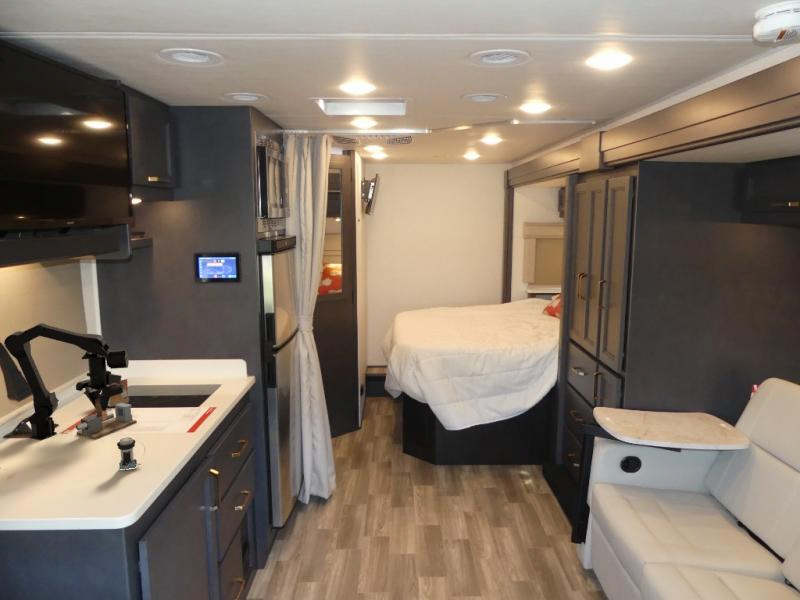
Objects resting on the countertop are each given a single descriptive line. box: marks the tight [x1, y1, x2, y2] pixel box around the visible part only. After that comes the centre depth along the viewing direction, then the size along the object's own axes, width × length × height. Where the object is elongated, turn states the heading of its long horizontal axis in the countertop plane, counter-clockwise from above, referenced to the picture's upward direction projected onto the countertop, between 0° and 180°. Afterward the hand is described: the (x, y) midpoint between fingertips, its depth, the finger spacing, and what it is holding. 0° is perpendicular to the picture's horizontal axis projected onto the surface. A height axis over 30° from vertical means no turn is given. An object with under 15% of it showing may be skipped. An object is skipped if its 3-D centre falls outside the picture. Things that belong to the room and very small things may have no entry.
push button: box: [116, 436, 142, 471], centre depth 187 cm, size 7×5×10 cm
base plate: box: [76, 416, 138, 440], centre depth 221 cm, size 18×10×1 cm, turn 154°
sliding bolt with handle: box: [75, 398, 115, 432], centre depth 216 cm, size 14×3×9 cm, turn 154°
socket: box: [114, 403, 134, 422], centre depth 227 cm, size 3×6×6 cm, turn 65°
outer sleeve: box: [80, 413, 103, 435], centre depth 215 cm, size 6×4×6 cm
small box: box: [107, 376, 129, 408], centre depth 248 cm, size 8×6×10 cm
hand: (101, 410), depth 218 cm, fingers closed on sliding bolt with handle, 3 cm apart
